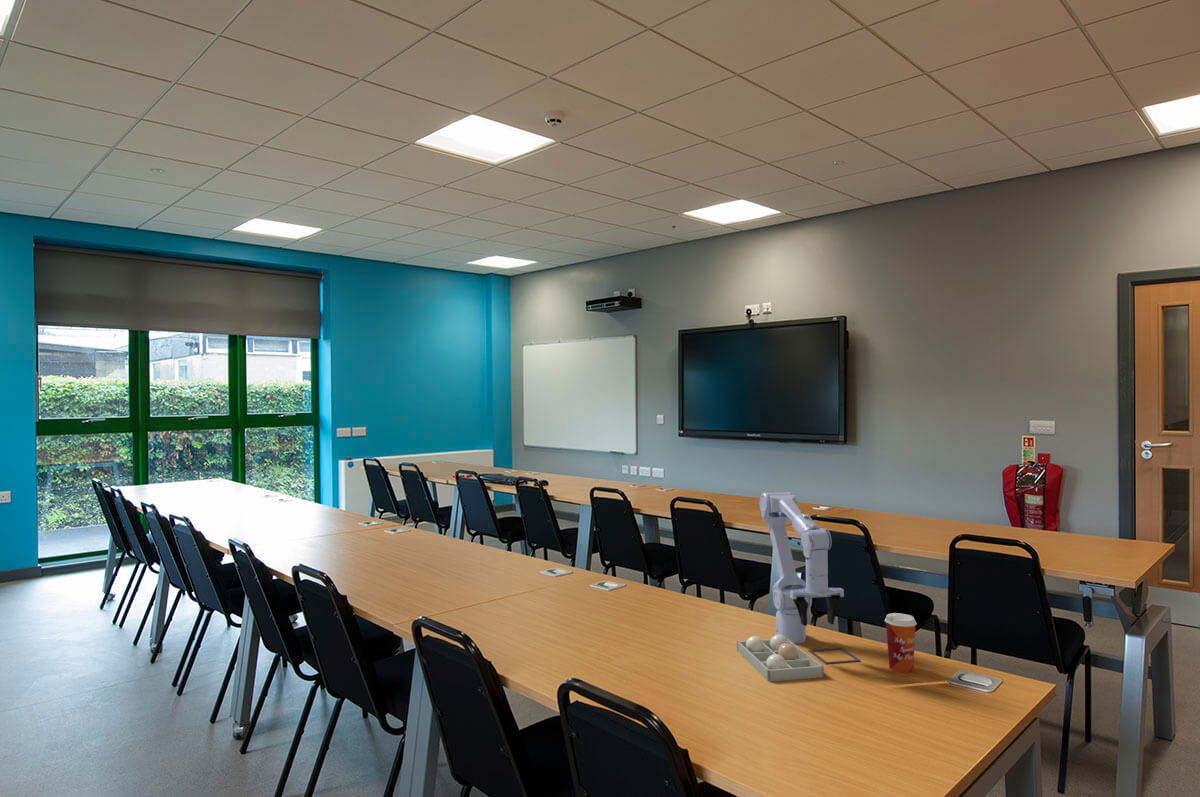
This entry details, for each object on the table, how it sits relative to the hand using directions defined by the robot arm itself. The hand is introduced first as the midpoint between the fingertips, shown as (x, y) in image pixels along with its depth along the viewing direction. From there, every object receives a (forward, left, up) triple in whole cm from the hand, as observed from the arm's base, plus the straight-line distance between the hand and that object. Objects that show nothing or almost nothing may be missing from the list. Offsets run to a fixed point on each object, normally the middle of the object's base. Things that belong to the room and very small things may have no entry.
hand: (817, 624), depth 189 cm
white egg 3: (+9, -16, -9) cm, 20 cm away
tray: (+2, -12, -10) cm, 16 cm away
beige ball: (+2, -9, -9) cm, 13 cm away
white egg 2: (-5, -9, -9) cm, 14 cm away
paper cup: (+11, +18, -10) cm, 23 cm away
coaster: (0, +5, -10) cm, 11 cm away
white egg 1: (-5, -16, -9) cm, 19 cm away
